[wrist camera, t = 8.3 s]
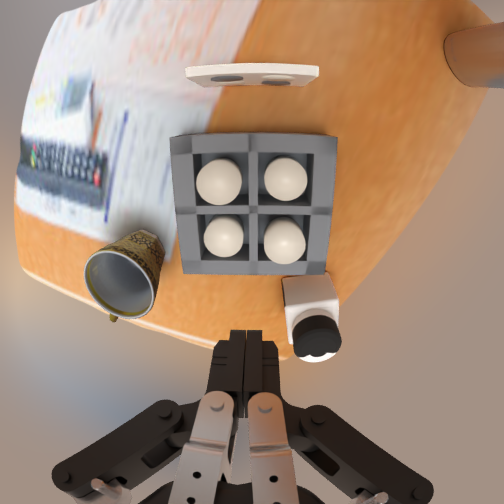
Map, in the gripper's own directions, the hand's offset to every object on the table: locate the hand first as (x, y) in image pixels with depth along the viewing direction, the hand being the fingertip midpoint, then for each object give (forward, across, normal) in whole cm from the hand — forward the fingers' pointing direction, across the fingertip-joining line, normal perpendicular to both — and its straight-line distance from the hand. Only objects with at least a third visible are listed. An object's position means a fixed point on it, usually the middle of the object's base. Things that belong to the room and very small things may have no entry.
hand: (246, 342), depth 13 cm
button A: (+23, -3, -3) cm, 23 cm away
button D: (+23, +4, +4) cm, 23 cm away
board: (+25, 0, 0) cm, 25 cm away
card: (+25, 0, -15) cm, 29 cm away
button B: (+21, -3, +4) cm, 22 cm away
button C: (+21, +4, -3) cm, 22 cm away
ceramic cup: (+25, +17, +9) cm, 32 cm away
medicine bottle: (+25, -8, +15) cm, 30 cm away
